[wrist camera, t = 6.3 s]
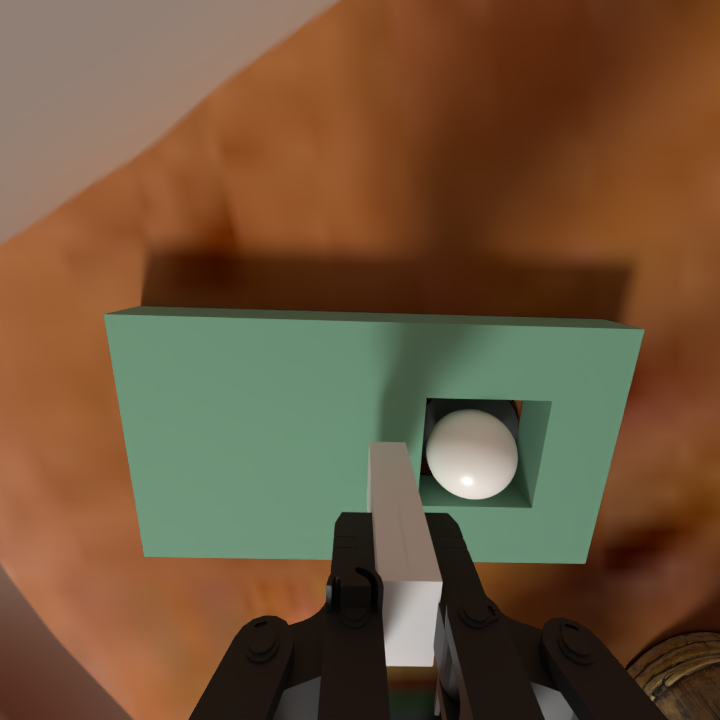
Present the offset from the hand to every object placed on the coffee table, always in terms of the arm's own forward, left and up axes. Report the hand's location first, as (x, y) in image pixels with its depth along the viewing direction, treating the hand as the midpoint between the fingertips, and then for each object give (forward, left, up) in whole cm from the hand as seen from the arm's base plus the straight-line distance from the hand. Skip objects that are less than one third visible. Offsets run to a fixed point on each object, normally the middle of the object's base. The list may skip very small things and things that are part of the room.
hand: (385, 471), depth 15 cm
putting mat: (+1, 0, -4) cm, 4 cm away
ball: (-4, 0, -2) cm, 4 cm away
